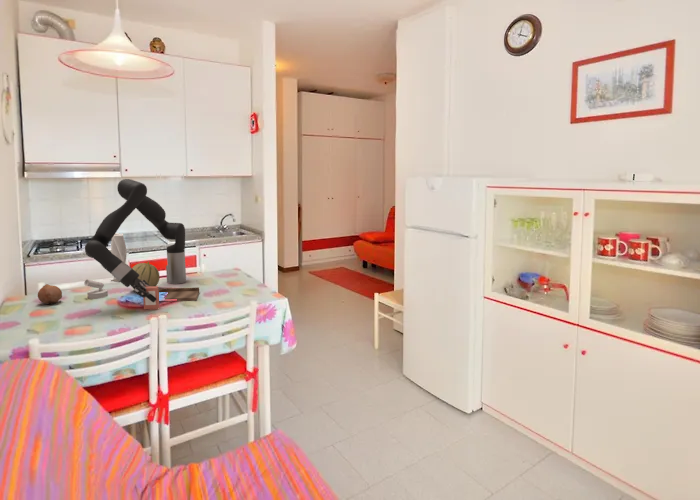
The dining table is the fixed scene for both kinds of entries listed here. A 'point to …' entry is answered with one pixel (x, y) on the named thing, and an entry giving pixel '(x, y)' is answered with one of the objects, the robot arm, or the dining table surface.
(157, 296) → the picture frame
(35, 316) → the dining table surface
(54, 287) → the brown round lump
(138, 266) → the cantaloupe
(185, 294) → the display ledge
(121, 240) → the skyscraper
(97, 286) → the security camera
